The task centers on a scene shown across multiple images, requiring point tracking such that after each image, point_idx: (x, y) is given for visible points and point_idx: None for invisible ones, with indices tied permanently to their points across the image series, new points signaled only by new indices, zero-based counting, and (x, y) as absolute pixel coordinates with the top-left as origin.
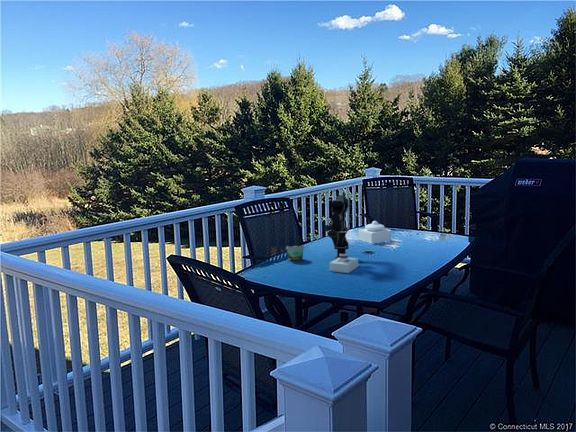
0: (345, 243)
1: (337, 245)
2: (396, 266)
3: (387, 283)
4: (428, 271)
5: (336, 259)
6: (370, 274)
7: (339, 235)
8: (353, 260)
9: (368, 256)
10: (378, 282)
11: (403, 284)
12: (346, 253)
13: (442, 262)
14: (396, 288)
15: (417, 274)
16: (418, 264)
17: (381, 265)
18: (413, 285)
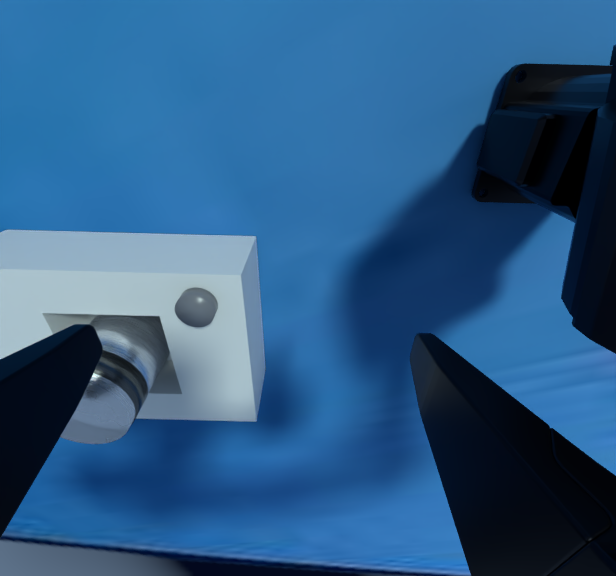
0: (587, 334)
1: (589, 159)
2: (347, 494)
3: (74, 508)
4: (312, 557)
5: (104, 283)
6: (144, 449)
7: (580, 549)
8: (176, 412)
9: (591, 350)
10: (58, 489)
11: (107, 535)
12: (121, 427)
13: (456, 568)
14: (47, 529)
15: (255, 544)
16: (408, 534)
17: (343, 451)
18: (120, 549)
